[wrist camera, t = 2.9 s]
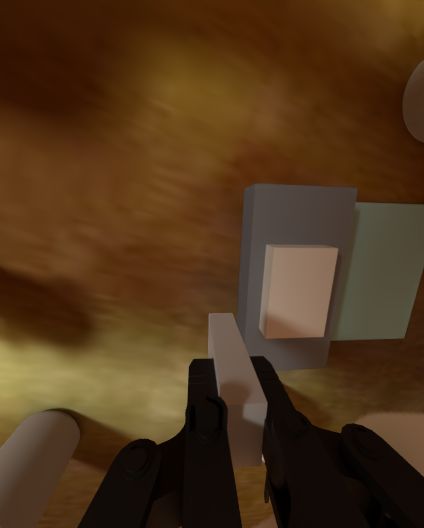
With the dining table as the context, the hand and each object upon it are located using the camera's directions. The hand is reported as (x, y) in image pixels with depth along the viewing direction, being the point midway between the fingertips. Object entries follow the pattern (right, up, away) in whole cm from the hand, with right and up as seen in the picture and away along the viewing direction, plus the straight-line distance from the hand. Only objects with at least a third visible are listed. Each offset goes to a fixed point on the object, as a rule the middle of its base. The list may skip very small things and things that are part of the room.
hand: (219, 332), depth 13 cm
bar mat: (+20, +3, +13) cm, 24 cm away
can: (-22, -17, +14) cm, 31 cm away
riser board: (+8, +3, +12) cm, 14 cm away
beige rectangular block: (+8, +2, +8) cm, 11 cm away
